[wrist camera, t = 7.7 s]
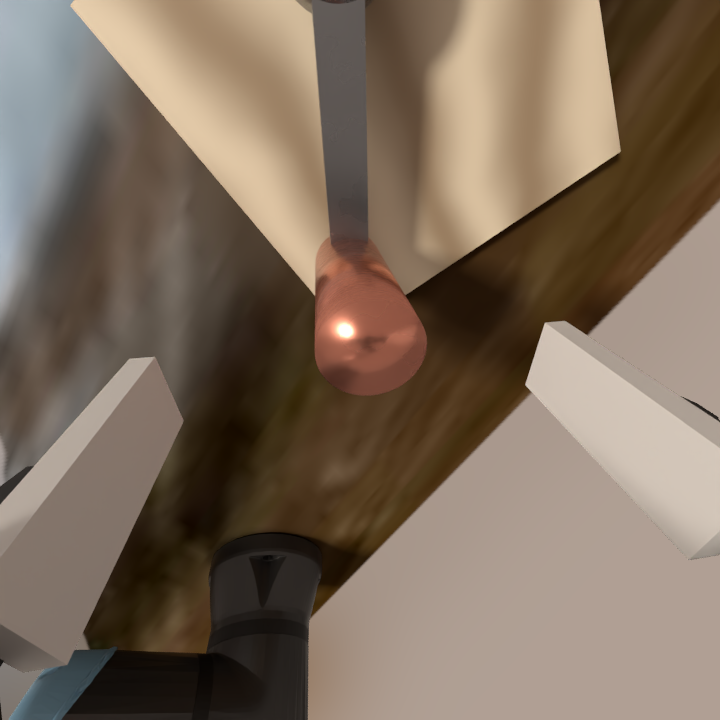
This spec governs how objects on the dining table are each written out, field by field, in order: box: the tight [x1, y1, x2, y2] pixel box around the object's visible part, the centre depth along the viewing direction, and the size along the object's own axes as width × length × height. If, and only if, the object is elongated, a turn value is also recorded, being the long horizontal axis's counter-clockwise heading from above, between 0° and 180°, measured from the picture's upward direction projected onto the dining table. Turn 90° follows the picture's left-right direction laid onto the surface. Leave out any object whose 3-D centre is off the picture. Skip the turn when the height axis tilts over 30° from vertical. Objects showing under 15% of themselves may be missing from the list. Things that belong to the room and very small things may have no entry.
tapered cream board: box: [70, 0, 621, 295], centre depth 16 cm, size 21×21×6 cm
